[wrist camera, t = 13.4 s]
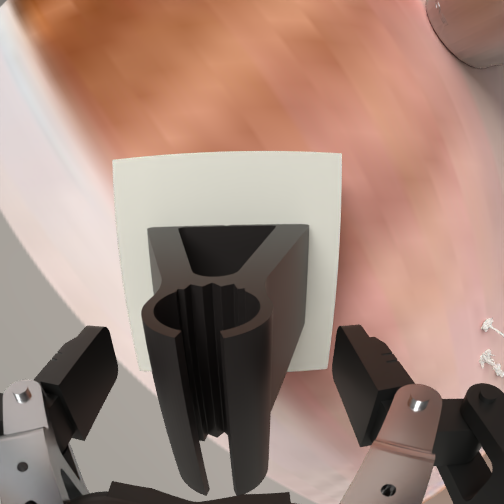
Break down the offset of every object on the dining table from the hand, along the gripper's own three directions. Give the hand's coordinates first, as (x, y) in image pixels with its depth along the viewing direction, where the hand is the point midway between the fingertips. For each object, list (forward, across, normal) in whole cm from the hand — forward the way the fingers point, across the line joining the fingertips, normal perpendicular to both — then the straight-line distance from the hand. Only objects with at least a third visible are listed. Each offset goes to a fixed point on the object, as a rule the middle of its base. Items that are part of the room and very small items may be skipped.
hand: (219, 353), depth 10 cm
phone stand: (+8, 0, 0) cm, 8 cm away
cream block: (+13, 0, 0) cm, 13 cm away
